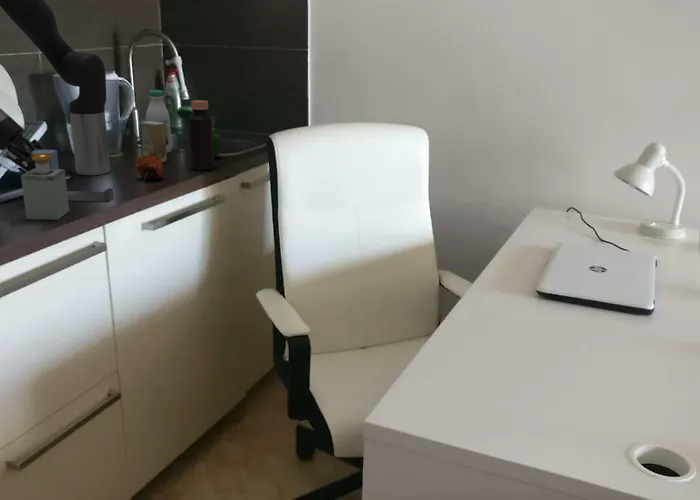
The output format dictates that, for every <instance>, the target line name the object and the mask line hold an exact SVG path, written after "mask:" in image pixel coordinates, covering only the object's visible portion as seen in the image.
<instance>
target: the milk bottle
mask: <svg viewBox="0 0 700 500" xmlns="http://www.w3.org/2000/svg"><path fill="white" fill-rule="evenodd" d="M148 96H149V103H148V107H147V109H146V111H145V112H146V113H145V122H146V121H155V122H162V123H165V125H166V154H168V153H171V152H172V150H173V149H172V147H173V146H172V131H171V130H172V129H171V128H172V127H171V119H170V113H169V110H168V109H167V107H166V104H165V101H164V98H165V94H164V91H163V90H160V89H150V90H148Z"/></svg>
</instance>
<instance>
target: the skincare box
mask: <svg viewBox="0 0 700 500" xmlns="http://www.w3.org/2000/svg"><path fill="white" fill-rule="evenodd" d="M140 128H141V146H142V147H141V148H142V149H141V150H142V156H145V155H149V154H150V155H153V154H155V157H158V158H159V159H160V160H161V162H162V163H164V162H168V161H167V160H168V157H167V156H168V155H167V154H168V153H166V125H165V123H162V122H155V121H146V120H145V121H141V122H140Z"/></svg>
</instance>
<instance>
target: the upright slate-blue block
mask: <svg viewBox="0 0 700 500" xmlns="http://www.w3.org/2000/svg"><path fill="white" fill-rule="evenodd" d="M32 152H33V153H32V154H36V153H49V154H51V160H49V168H50V169H60V167H59V157H58V156H59V155H58V150H57V149H45V150H34V151H32ZM31 161H32V160H31ZM32 162H33V161H32Z"/></svg>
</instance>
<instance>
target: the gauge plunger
mask: <svg viewBox="0 0 700 500" xmlns="http://www.w3.org/2000/svg"><path fill="white" fill-rule="evenodd" d="M31 157H32V160H33V161H35V165H36V173H37V174H44V175H49V174H50V168H49V160H51V154H49V153H36V154H32V155H31Z"/></svg>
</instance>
